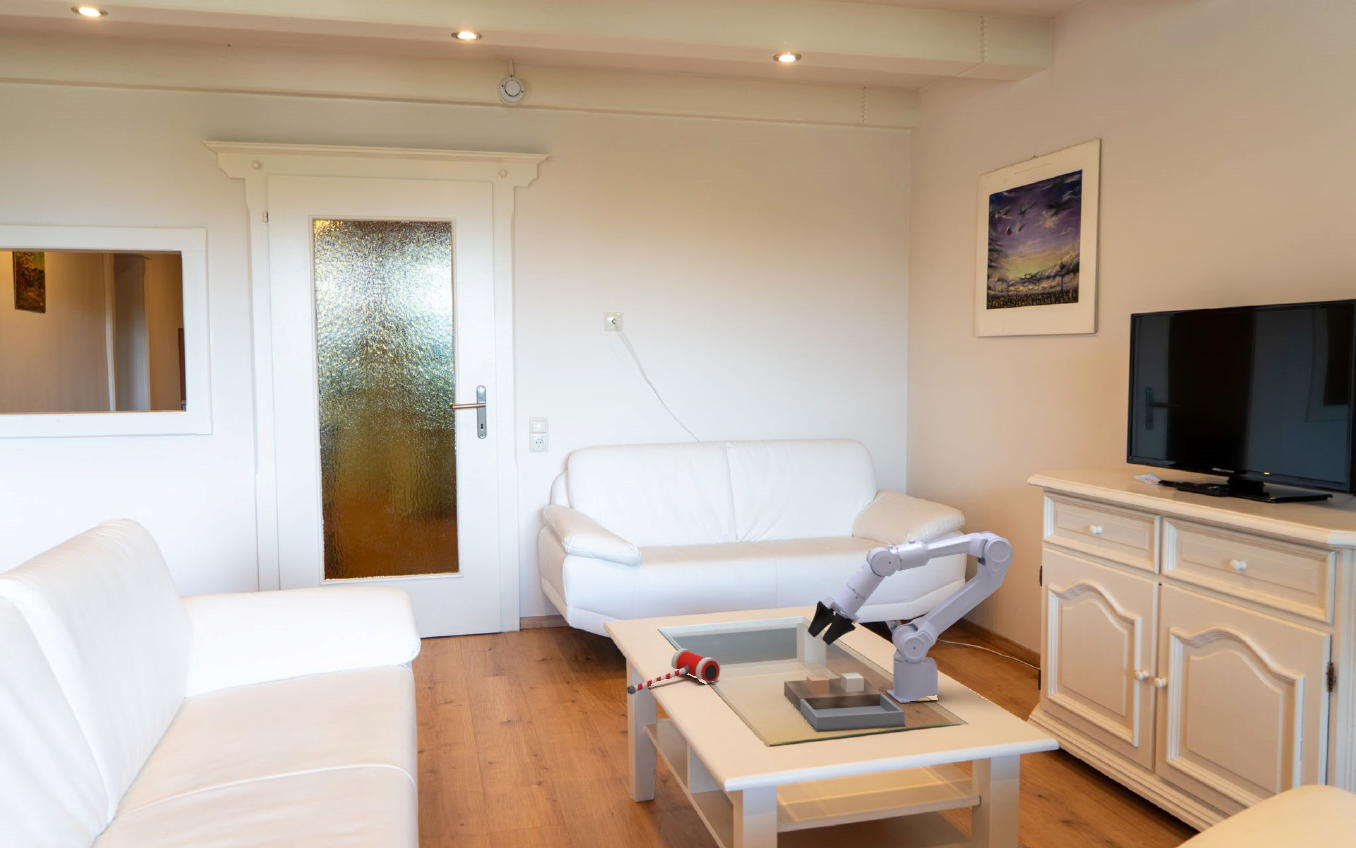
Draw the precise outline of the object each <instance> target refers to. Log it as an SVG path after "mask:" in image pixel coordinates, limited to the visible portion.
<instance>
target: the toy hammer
mask: <svg viewBox="0 0 1356 848" xmlns="http://www.w3.org/2000/svg"><path fill="white" fill-rule="evenodd" d="M670 665H671V668H672V667H673V668H674V669H679V670H677V671H671V672H668V673H666V674H663V675H661V676H658V677H655V678H652V679H649V680H647V681H644V682H642V683H639V684H636V685H632V684H631V685H629V686H627V687H626V692H627V694H629V695H634V694H636V692H638V691H641V690H645V689H647V688H650V687H652V686H651V684H652V683H655V682H657V681H661V680H664V679H669V680H671V679H673V678H672V677H674V678H676V677H675V676H677V677H679V676H683V675H685V674H688V673H689V674H691V675H693V676H696V677H697V679H700V680H701V679H703V680H707V681H714V682H715V683H716V682H717V681H718V679H719V677H720V676H721V675H720V674H721V665H720V663H719V661H718V660H717V659H715V658H713V657H709V656H708V657H707V656H706V657H704V656H701V655H698V654H696V653H694V652H693V651H692V650H690V649H687V648H679V649H678V650H676V651H675V653H674V654H673V656H672V658H671V664H670ZM682 674H683V675H682ZM670 678H671V679H670ZM697 679H696V680H697ZM649 686H650V687H649Z"/></svg>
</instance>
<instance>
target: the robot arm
mask: <svg viewBox="0 0 1356 848" xmlns="http://www.w3.org/2000/svg"><path fill="white" fill-rule="evenodd" d="M907 541H908V542H907V543H902V544H897V545H893V544H888V545H887V548H884V547H881V546H879V547H875V548H873V549H872V550H868V552H867V553H866V559H865V561H864V563H863V564H862V565H861V566H860V567H859V568H858V569H857V571H856V572H855V573H854V574H853V575H852V577H851V578H850V579H849V580H848V581H847V582H846V584H845V585H844V586H843V587H842V589H841V590H840V591H839V592H838V593H837V595H835V597H834V596H832V595H830V596H826V597H825V598H824V600H823V601H821V600H819V601H818V602H817V603H816V609H815V612H814V613H815V614H814V616H813V618H812V621H811V622H810V625H809V627H808V629H807V633H809V635H810V636H811V637H813V638H816V637H817V636H818V635H820V634H821V633H822V632H823V630H825V629H826V628H827V627H828V626H829V627H828V628H827V630H826V631H825V633H824V634H823V635H822V639H821V640H822V641H823V642H824V643H826V645H828V646H830V645H831V644H833V643H834V642H836V641H837V640H838V639H840V638H841V637H842V636H845V634H848V633H850V632H854V631H855V630H856V629H857V627H856V626H855V625H856V623H857V622H858V620H859V619H860V617H859V616H858V614H857V613H858V611H859V610H860V609H861V608H862V606H863V605H864V604H865V603H866V602H867V601H868V599H870V597H871V595H872V594H874V592H875V591H876V589H878V587H879V585H880V584H881V583H882V582H883V581H884V579H885V578H886V577H892V576H893V575H894V574H895V573H896V571H897V572H902V571H906V570H911V569H915V568H921V567H924V566H926V565H927V564H928V562H929V561H930V560H931V559H937V558H944V557H949V556H954V555H955V556H956V555H961V554H967V555H970V556H973V557H976V561H977V562H976V563H977V565H976V567H977V569H976V571H977V572H976V575H975V576H973V577H972V578H970V579H969V580H967V582H965V584H963V585H961V586H960V587H959V588H958V589H957V590H955V591H954V592H953V593H951V594H950V595H949V596H947V598H945V599H944V600H943V601H941V602H940V603H939V604H938V605H936V606H935V607H934V608H932V609H931V610H929V611H928V612H927V613H926V614H925V615H923V616H920V617H917V618H914V619H912V620H911V621H910V622H907V623H905V624H900V625H898V626H897V627H896V628H895V629H894V630H893V632H892V635H891V641H892V644H893V646H894V647H895V648H896V650H895V651H894V653H893V654H892V655H893V660H892V661H893V668H892V669H893V672H892V673H893V674H892V675H893V676H892V677H893V679H892V681H893V682H892V686H893V687H892V688H893V689H887V690H886V693H887V694H888V695H889V696H891V697H892V698H893V699H895V700H896V701H897V702H898V703H900V704H903V703H904V704H905V703H911V702H910V701H915V700H919V699H920V698H924V697H926V696H935V695H938V693H939V692H938V689H939V688H938V686H939V685H938V684H939V681H938V679H939V678H938V677H939V672H938V666H937V662H936V660H935V659H934V658H933V657H930V656H929V657H927V655H928V652H929V650H930V648H932V647H933V646H934V645H935V644H936V642H937V640H938V636H939V635H941V634H942V633H944V631H946V630H947V629H948V628H949V627H950V626H952V625H953V624H955V623H956V622H957V621H959V620H960V619H961V618H962V617H964V616H966V614H967V613H969V612H970V611H971V610H973V609H974V608H975V607H977V606H978V605H979V604H980V603H982V602H983V601H984V600H985V599H987V598H988V597H990V596H991V595H992V594H993V593H994V592H997V590H998V589H999V588H1000V587H1002V584H1003V582H1004V579H1005V577H1006V574H1007V572H1008V570H1009V567H1010V566H1011V565H1012V564H1013V562H1014V548H1013V546H1012V544H1011V542H1010V541H1009V539H1006V538H1004V537H1001V536H999V535H997V534H996V533H994V532H992V531H982V532H972V533H967V534H964V535H961V536H955V537H951V538H949V539H947V538H946V539H944V540H941V541H935V542H933V543H929V544H925V543H924V542H922V541H920V540H915V539H914V538H912V539H908V540H907Z"/></svg>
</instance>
